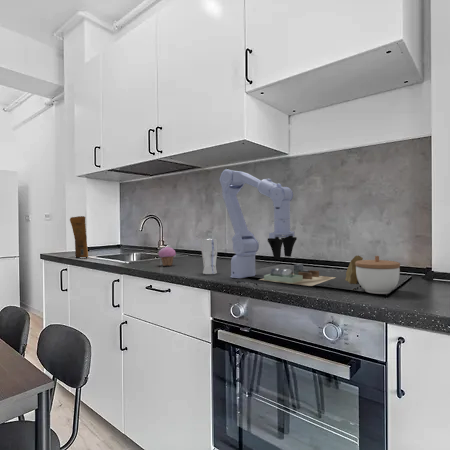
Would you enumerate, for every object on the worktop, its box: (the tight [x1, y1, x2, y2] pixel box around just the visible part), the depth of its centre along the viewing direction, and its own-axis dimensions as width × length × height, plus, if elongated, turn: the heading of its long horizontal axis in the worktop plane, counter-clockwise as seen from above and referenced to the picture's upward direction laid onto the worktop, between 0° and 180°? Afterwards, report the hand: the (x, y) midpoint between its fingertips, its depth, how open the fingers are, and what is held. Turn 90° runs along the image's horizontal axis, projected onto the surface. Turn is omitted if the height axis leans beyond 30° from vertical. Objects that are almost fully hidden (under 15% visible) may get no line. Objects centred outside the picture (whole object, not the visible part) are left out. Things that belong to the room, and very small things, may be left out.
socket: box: [298, 269, 320, 279], centre depth 126 cm, size 5×7×2 cm
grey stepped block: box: [293, 263, 310, 275], centre depth 127 cm, size 5×4×4 cm
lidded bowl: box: [355, 255, 401, 295], centre depth 104 cm, size 13×13×11 cm
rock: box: [345, 254, 364, 285], centre depth 117 cm, size 11×9×10 cm
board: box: [258, 272, 337, 287], centre depth 124 cm, size 21×20×1 cm
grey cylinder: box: [270, 267, 294, 278], centre depth 122 cm, size 7×4×4 cm, turn 49°
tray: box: [263, 273, 303, 284], centre depth 122 cm, size 12×8×2 cm, turn 49°
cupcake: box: [158, 246, 177, 267], centre depth 175 cm, size 9×9×10 cm
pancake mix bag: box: [69, 215, 89, 258], centre depth 226 cm, size 7×19×28 cm, turn 46°
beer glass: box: [200, 238, 218, 275], centre depth 147 cm, size 7×7×15 cm
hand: (282, 257), depth 122 cm, fingers open, 7 cm apart
